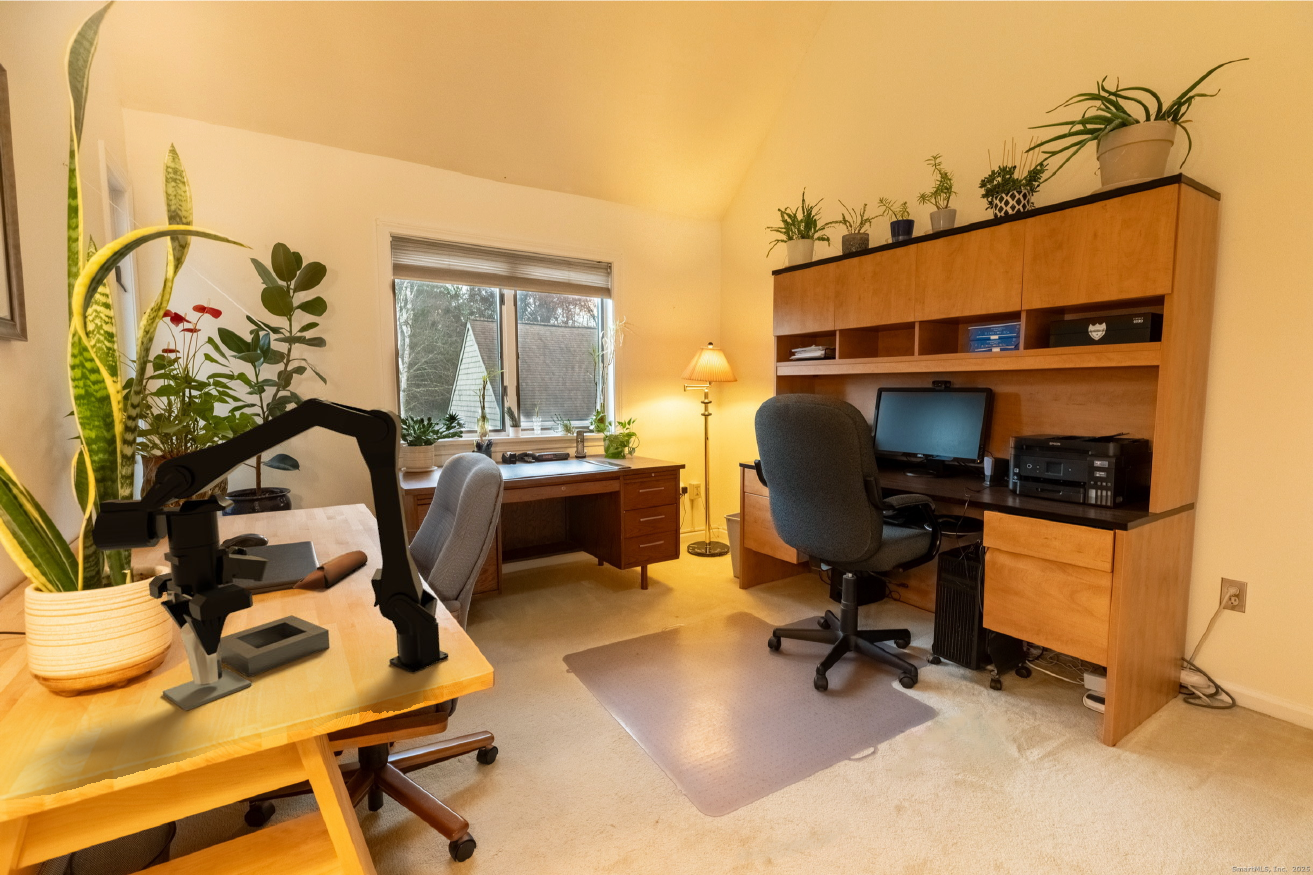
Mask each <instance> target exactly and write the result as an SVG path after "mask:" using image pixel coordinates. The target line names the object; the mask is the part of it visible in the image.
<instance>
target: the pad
mask: <svg viewBox="0 0 1313 875" xmlns="http://www.w3.org/2000/svg"><path fill="white" fill-rule="evenodd" d="M251 686H252V681H250V680H248V679H247V678H244V677H243V676H241V675H239V674H237V673H236V672H234V671H232V670H230V669H229V668H225V669H224V668H223V669H222V678H221V679H220V680H219V681H217V682H215V683H212V684H209V685H205V686H195V684H194V680H193V679H192V680H190V681H187V682H185V683H182V684H179V685H176V686H173V687H171V688H167V689H165V690H163V691H162V695H163V696H165V698H167V699H169V700H170V701H172V702H173V703H174V704H176V705H177V706H179V708H181V709H183V710H184V711H189V710H192V709H194V708H196V707H199V706H202V705H204V704H208V703H210V702H213V701H214V700H218V699H220V698H223V697H226V696H228V695H230V694H233V693H236V692H238V691H241V690H243V689H246V688H248V687H251Z"/></svg>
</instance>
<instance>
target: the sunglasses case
mask: <svg viewBox="0 0 1313 875" xmlns="http://www.w3.org/2000/svg"><path fill="white" fill-rule="evenodd" d="M368 558H369V557H368V554H367V553H366V552H365V551H363V550H360V549H359V550H352V551H348V552H346V553H344V554H340V555H338V556H336V557H335V558H332V559H331V560H328V561H327V562H324V563H322V564H321V565H320V566H316V569H315V570H313V571H312V572H310V573H309V574H307V575H308V576H307V575H306V576H307V577H306V576H305V577H306V578H305V577H304V578H305V579H304V580H303V581H302V582H300V581H301V580H299V581H298V582H297V583H296V584H295V585H294V586H293V587H292V589H293V590H299V589H301V590H305V589H306V590H307V589H308V590H310V589H311V590H313V589H314V590H315V589H316V590H318V589H319V590H321V589H322V590H323V589H324V590H328V589H329V587H332V586H333V585H334V584H335V583H337V582H338V581H339V580H340V579H342V578H344V576H345V575H349V573H351V572H352V571H354V570H355V569H357V568H359V567H360V566H362V565H364V564H365V565H366V564H367V563H368V562H369V560H368Z"/></svg>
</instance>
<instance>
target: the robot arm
mask: <svg viewBox="0 0 1313 875" xmlns="http://www.w3.org/2000/svg"><path fill="white" fill-rule="evenodd" d="M315 427H319V428H323V429H326V430H329V431H332V432H335V433H338V434H339V435H344V436H348V437H351V438H355V440H356V443H357V445H358V448H359V451H360V454H361V456H362V459H363V461H364V462H365V465H366V466H367V468H368V471H369V475H370V482H371V489H372V490H371V491H372V495H373V503H374V510H375V516H376V525H377V532H378V540H379V546H380V554H381V560H382V564H381V568H376V569H375V571H374V574H373V575H372V577H371V579H370V582H371V587H372V590H373V592H374V596H375V597H374V604H373V607H374V608H377V607H378V609H379V612H380V615H381V616H382V618H385V619H387V620H389V621H391V622H392V625H393V627H394V628H395V630H396V631H395V632H396V633H395V634H396V649H397V650H396V651H397V656H394V657H391V658H390V659H389V664H391V665H392V666H396V667H398V668H400V669H403V670H405V671H406V672H407V671H408V672H410V673H418V672H419V671H421V670H424V669H425V668H428V667H430V666H432V665H434V664H436V663H438V662H440V661H443V660H445V659H447V658H449V656H450V655H449V653H448V652H445V651H443V650H441V649H440V648H441V646H440V633H439V632H440V629H439V626H440V625H439V622H437V621H438V620H437V618H436V616H437V607H438V601H439V599H438V597H436V596H435V595H433V594H432V593H431V592H429V591H428V590H426V589H425V588H424V586H423V582H422V578H421V577H420V574H419V570H418V568H417V565H416V563H415V561H414V559H413V556H412V555H411V551H410V544H409V537H408V529H407V523H406V522H407V521H406V516H405V508H404V501H403V494H402V492H403V491H402V485H401V479H400V478H401V477H400V472H399V471H400V470H399V462H400V451H401V441H402V420H401V418H400V417H399V415H398V414H397V413H395V411H393V410H391V409H389V408H386V407H376V408H372V409H369V410H368V409H365V408H362V407H358V406H353V405H348V404H344V403H339V402H335V401H331V400H329V399H327V398H324V397H310V398H307V399H305V400H304V401H302V402H301V403H300V404H298V405H297V406H295V407H293V408H291V409H289V410H286V411H284V412H281V413H280V414H279V415H276V416H274V417H272V418H269V419H268V420H266V421H263V422H262V423H260V424H257V425H255V426H253V427H251V428H249V429H248V430H246V431H244V432H241V433H239V434H238V435H236V436H234V437H233V436H232V438H231V437H230V438H229V439H227V440H225V441H223V442H220V443H217V444H213V445H211V446H207V447H204V448H201V449H196V450H194V451H190V452H186V453H184V454H180V455H176V456H173V457H170V458H168V459H165V460H163V461H162V462H160V463H159V464H158V466H157V467H156V468H155V472H154V483H153V484H152V485H151V487H150V488H149V489H148V490H147V492H146V493H145V495H143V497H142V498H141V499H118V498H117V499H108V500H105V501H102V502H100V503H99V512H98V514H97V515H96V517H95V519H94V524H93V528H92V529H91V538H92V541H93V544H94V546H95V547H96V548H97V549H98V550H99V551H101V552H106V551H107V552H108V551H119V550H120V551H121V550H122V551H123V550H132V549H144V548H146V549H147V548H155V547H156V546H158V544H159V543H160V542H161V540H163V539H165V538H166V537H167V543H168V552H167V551H166V552H164V553H163V556H164V557H163V558H164V561H166V562H168V563H170V564H169V565H170V572H167V573H161V574H159V575H155V576H154V577H153V579H152V580H151V581H150V582H149V583H148V588H149V596H150V598H151V597H152V598H154V599H156V600H158V599H162V598H163V595H164V593H166V598H167V600H164V601H161V602H160V605H161V607H163V609H164V610H165V611H166V613H167V614H168V615H169V617H170V618H171V619H172V620H173V622H174V623H175V624H176V625H177V627H178V628H179V630H181V628H182V627H183V626H184V625H185V624H186V623H188V624H189V626H190V627H191V629H192V631H193V632H194V634H195V636H196V638H197V639H198V641H199V643H200V645H201V646H202V648H203V649H204V651H205V653H206V654H207V655H212V654H215V653H216V652H217V649H218V645H219V642H220V638H221V637H222V634H223V630H224V626H225V622H226V620H227V618H228V616H229V615H230V614H233V613H236V612H240V611H242V610H247V609H250V608H252V607H253V606H254V601H253V600H254V599H253V592H252V591H250V590H249V589H247V588H245V587H243V586H240V585H237V584H236V583H235V584H234V579H235V580H236V579H239V580H251V581H254V582H263V581H264V577H265V574H266V570H267V567H268V562H269V560H268V559H265V558H263V557H259V556H254V555H250V554H249V555H248V552H247V549H246V548H244V547H242V546H241V547H240V546H229V548H227V547H224V546H222V545H221V541H220V530H219V517H218V512H225V511H227V510H228V509H230V508H232V507H234V506H235V502H234V501H233V500H231V499H229V498H227V497H226V496H224V495H223V494H222V493H221V492H219V491H217V492H214V493H213V494H211V495H210V496H209V498H196V499H188V498H191V497H194V496H196V495H199V494H201V493H204V492H206V491H208V490H210V489H212V488H213V487H215V486H216V485H217V484H219V483H220V482H222V481H223V480H224V479H226V478H227V477H228V476H229V475H232V473H233V472H235V471H236V470H237V469H238V468H240V467H241V466H242V465H243V464H245V463H247V462H248V461H250V460H252V459H254V458H257V457H258V456H260V455H263V454H264V453H266V452H268V451H269V450H270V451H271V449H274V448H276V447H278V446H281V445H282V444H283V443H286V442H288V441H290V440H292V439H294V438H296V437H298V436H300V435H302V434H303V433H306V432H309V431H310V430H312V429H314V428H315ZM179 500H184V501H183V503H182V504H181V505H180V506H171V507H165V506H167V505H168V504H171V503H173V502H176V501H179ZM222 585H223V586H222ZM220 586H221V587H220Z"/></svg>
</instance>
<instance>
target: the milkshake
mask: <svg viewBox="0 0 1313 875" xmlns="http://www.w3.org/2000/svg"><path fill="white" fill-rule="evenodd" d="M179 630H180V629H179ZM179 633H180V636H181V638H182V642H183V646H184V649H185V652H186V655H187V660H188V663H189V667H190V671H191V672H190V673H191V676H192V681H193V680H194V684H195V686H205V685H209V684H212V683H215V682H217V681H219V680H220V679H221V678H222V670H223V665H222V664H223V662H221V642H219V645H218V649H217V652H216V653H215V654H212V655H207V654H206V653H205V651H204V649H203V648H202V646H201V645H200V643H199V641H198V639H197V638H196V636H195V634H194V632H193V631H192V629H191V627H190V626H189V624H188V623H186V624H185V625H184V626H183V627H182V628H181V630H180V632H179Z"/></svg>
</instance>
